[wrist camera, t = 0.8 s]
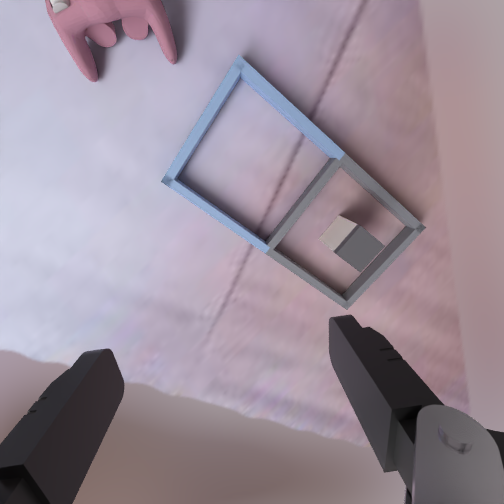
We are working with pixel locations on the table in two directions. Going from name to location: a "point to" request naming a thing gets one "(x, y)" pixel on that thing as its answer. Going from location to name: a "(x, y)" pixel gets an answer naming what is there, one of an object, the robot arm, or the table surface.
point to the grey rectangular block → (351, 242)
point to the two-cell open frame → (336, 160)
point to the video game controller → (108, 26)
